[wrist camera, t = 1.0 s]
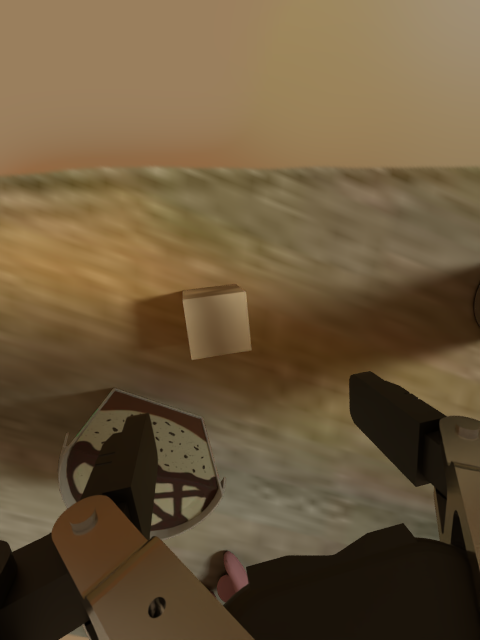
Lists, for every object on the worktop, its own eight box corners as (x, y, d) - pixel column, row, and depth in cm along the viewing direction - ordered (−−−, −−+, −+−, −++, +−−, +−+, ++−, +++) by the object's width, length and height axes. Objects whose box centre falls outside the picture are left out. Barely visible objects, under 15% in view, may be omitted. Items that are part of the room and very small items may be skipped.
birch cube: (235, 283, 28) (245, 291, 24) (240, 333, 30) (251, 350, 25) (182, 290, 28) (182, 299, 23) (190, 341, 29) (191, 360, 24)
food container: (74, 436, 29) (21, 530, 19) (98, 382, 28) (53, 452, 19) (191, 469, 32) (194, 563, 23) (215, 421, 31) (229, 498, 22)
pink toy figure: (186, 595, 38) (205, 671, 33) (163, 599, 35) (181, 683, 30) (244, 547, 38) (273, 615, 33) (227, 547, 35) (255, 622, 30)
